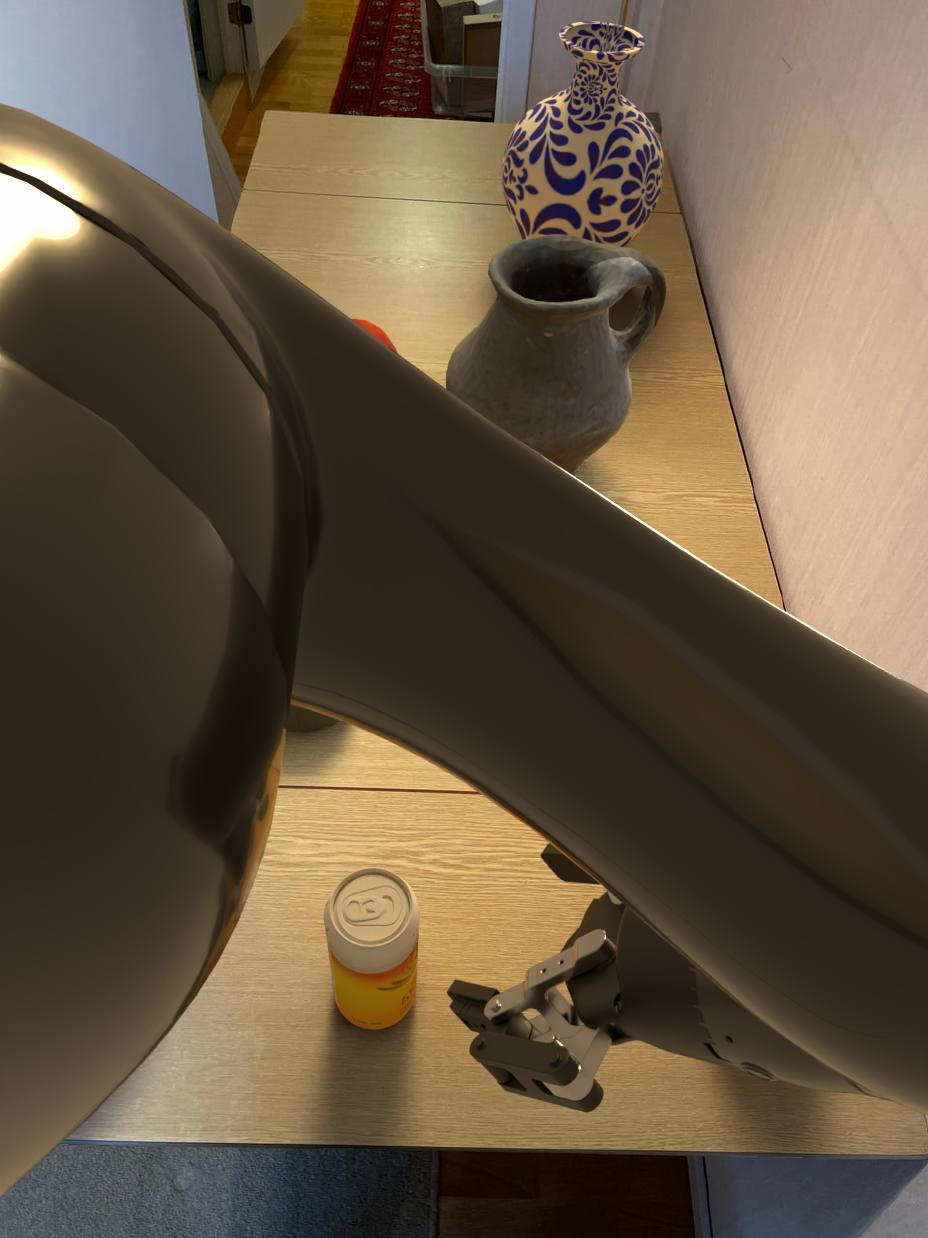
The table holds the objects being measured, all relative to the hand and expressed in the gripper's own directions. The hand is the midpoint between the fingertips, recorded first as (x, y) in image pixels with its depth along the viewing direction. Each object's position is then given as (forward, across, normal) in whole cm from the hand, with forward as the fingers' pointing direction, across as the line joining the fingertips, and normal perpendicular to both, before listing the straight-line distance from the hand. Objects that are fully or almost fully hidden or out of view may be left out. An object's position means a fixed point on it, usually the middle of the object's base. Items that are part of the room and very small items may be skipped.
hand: (508, 928), depth 49 cm
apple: (+58, -54, -22) cm, 82 cm away
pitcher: (+43, -60, -5) cm, 74 cm away
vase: (+56, -98, -17) cm, 114 cm away
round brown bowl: (+41, -18, -6) cm, 45 cm away
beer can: (+26, 0, +10) cm, 28 cm away
